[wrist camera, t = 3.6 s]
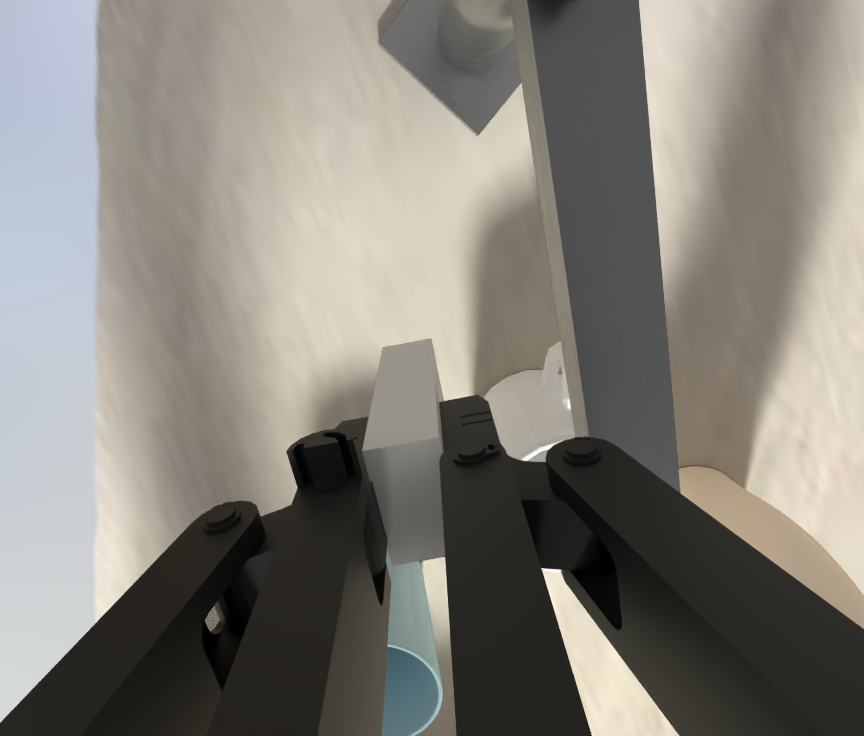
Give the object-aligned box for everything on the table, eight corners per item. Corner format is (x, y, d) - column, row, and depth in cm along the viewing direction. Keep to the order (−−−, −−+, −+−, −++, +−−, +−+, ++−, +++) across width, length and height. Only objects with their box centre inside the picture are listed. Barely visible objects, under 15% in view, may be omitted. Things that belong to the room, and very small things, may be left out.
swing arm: (502, -10, 14) (517, -41, 12) (606, -35, 14) (639, -71, 12) (594, 586, 20) (614, 634, 18) (667, 572, 20) (695, 619, 18)
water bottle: (628, 442, 38) (1095, 1042, 12) (760, 436, 38) (1511, 1019, 12) (618, 567, 42) (963, 1250, 15) (739, 561, 42) (1289, 1230, 15)
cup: (431, 521, 40) (435, 636, 30) (442, 607, 43) (449, 739, 33) (325, 532, 40) (294, 650, 30) (342, 618, 43) (319, 752, 33)
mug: (603, 308, 35) (669, 357, 26) (587, 477, 39) (639, 572, 30) (474, 309, 35) (495, 359, 26) (471, 479, 39) (488, 575, 30)
